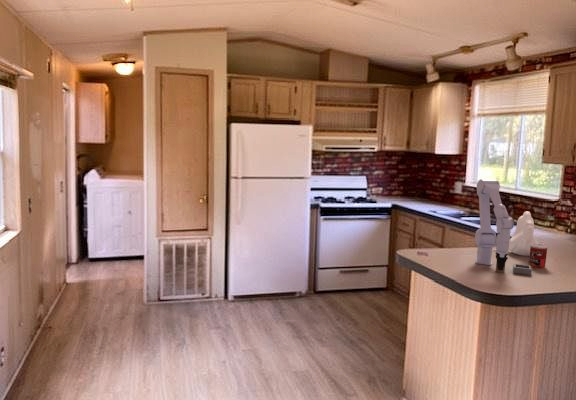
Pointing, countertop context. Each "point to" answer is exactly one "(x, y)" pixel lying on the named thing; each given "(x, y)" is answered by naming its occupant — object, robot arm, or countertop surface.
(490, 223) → the robot arm
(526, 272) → the well
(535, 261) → the canned food
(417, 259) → the countertop surface
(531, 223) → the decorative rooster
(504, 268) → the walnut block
